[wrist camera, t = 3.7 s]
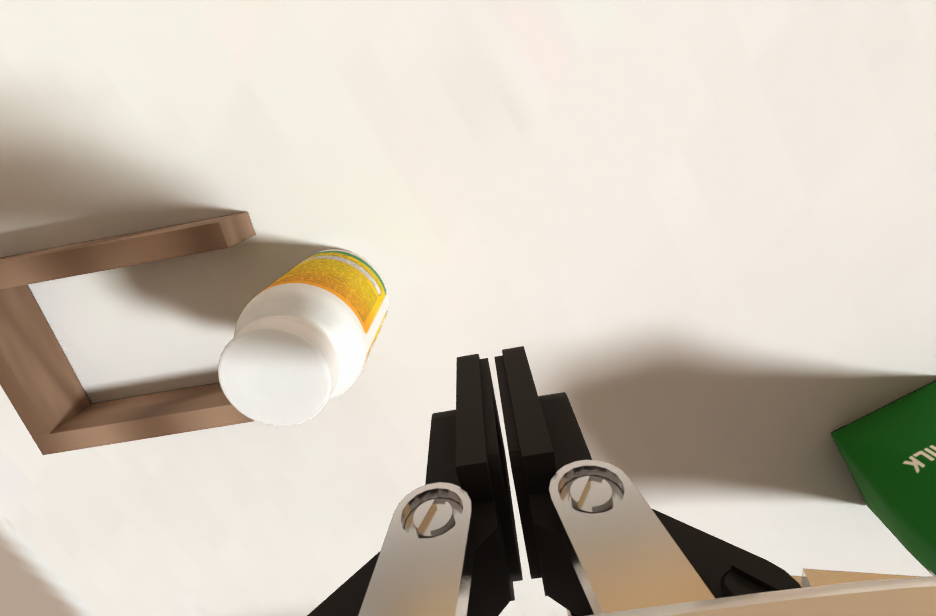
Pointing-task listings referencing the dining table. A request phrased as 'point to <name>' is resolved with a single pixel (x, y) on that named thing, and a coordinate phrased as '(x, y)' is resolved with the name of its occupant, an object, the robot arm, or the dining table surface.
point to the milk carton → (898, 468)
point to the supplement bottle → (304, 338)
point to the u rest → (48, 370)
